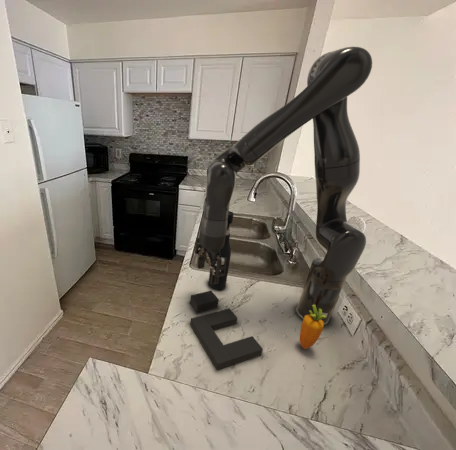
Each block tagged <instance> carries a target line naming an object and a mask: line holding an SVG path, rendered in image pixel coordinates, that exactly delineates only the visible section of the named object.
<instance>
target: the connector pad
mask: <svg viewBox="0 0 456 450" xmlns="http://www.w3.org/2000/svg"><path fill="white" fill-rule="evenodd" d="M189 297H190V298H189V304H190V306H191V307H192V308H193V310H194V312H195V314H199V313H203V312H207V311H211V310H214V309H218V307H219V302H220V301H219V297H217V295H216V294H215V293H214V292H213V291H212V290H208V291H207V290H206V291H203V292H199V293H198V292H197V293H194V294H190V296H189Z"/></svg>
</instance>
